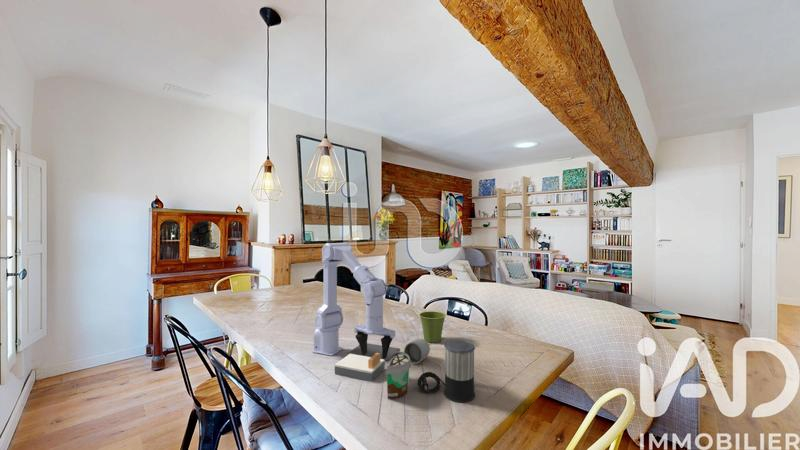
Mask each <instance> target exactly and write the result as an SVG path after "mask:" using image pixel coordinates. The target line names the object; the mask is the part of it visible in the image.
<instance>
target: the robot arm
mask: <svg viewBox="0 0 800 450" xmlns="http://www.w3.org/2000/svg"><path fill="white" fill-rule="evenodd" d="M341 262H343V263H344V264H346V265H347V267H348V268H349V269H351V270H352V271H353V278H354V279H355V281H356V282H357V283H358V285H360V287H361V288H362V289H361V292H362V295H363V297H364V303H365V325H356V326H354V333H355V334H356V335H355V340H356V341H357V343H358V346H359V345H360V348H361V351H362V355H365V354H366V353H367V343H368V338H369V336H370V335H372V336H381V337H382V338H380V342H381V346H382V357H383V359H385V358H386V357H387V353H388V349H389V347H391V346H390V345H391V343H392V341H393V339H394V338H395V337H396V330H393V329H389V328H387V327H384V313H383V312H384V296H385V295H386V293H387V284H386V282H385V280H384V279H382V278H379V277H376V276H375V275H374V273H373V272H372V271H371V270H370V269H369V267H368V266H367V265H362V264H361V263H360V261H359V260H358V258H356V256H355V255H354V253H353V247H352V246H351V244H350V243H349V242H347V241H345V242H336V243H335V242H333V243H330V242H326V243H325V244H324V245H323V246H322V247H321V263H322V264H323V288H322V289H323V295H322V296H323V298H322V299H323V303H322V305H321V306H320V307H319V308H318V309H317V310H316V316H315V326H316V329H315V330H314V333H313V349H312V353H315V354H320V355H325V356H326V355H327V356H334V355H336V354H338V352H340V351H342V350H343V349H344V347H343V346H339V345H340V343H339V341H340V339H339V338H340V337H339V336H340V335H339V332H340V328H341V326H342V324H343V323H344V314H343V308H342V307H341V306H340V305H338V298H337V297H338V290H337V289H338V288H337V287H338V285H337V284H338V265H339V264H340V263H341Z"/></svg>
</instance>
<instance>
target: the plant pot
mask: <svg viewBox="0 0 800 450" xmlns="http://www.w3.org/2000/svg"><path fill="white" fill-rule="evenodd" d="M418 316H419V318H420V322H421V326H422V328H421V329H422V333H423V339H424V340H426V341H427V342H428V343H439V342H441V340H442V335H443V327H444V322H445V318H446V317H447V314H446V313H444V312H440V311H433V310H432V311H431V310H429V311H422V312H419V314H418Z"/></svg>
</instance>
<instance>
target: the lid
mask: <svg viewBox="0 0 800 450" xmlns="http://www.w3.org/2000/svg"><path fill="white" fill-rule="evenodd" d="M384 361H385V360H384V359H380V353H376V354H374V355H373V356H372V357H367V356H361V355H355V354H347V355H346V356H345V357H343V358H342V359H341V360H339V361H338V362H335V364H334V368H335V367H340V368H345V369H350V370H355V371H360V372H365V373H371V374H372V373H373V372H374V371H375V370H376V369H377V368H378V367H379V366H380V365H381V364H382V363H383V362H384Z"/></svg>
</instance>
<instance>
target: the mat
mask: <svg viewBox="0 0 800 450" xmlns="http://www.w3.org/2000/svg"><path fill="white" fill-rule="evenodd" d="M399 350H401V349H400V347H399V348H398V347H393V346H389V349H388V353H387V357H386V358H385V359H384V360H385V361H386V362H388V361H390V360H391V358H393V357H394V356H395V351H399ZM376 353H380V359H383V357H382V344H381V345H380V344H374V343H368V342H367V353H366V354H365V355H362V351H361V348H360V345H359V344H358V345H357V346H356V347H354V348H353V349H351V350H350V351H349V352H348V353H347V355H349V354H355V355H361V356H367V357H372V356H373V355H374V354H376Z"/></svg>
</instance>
